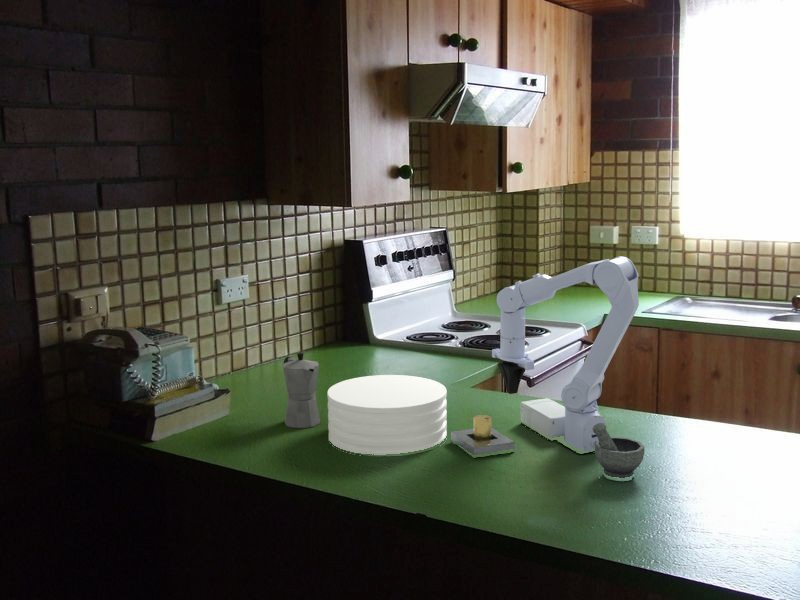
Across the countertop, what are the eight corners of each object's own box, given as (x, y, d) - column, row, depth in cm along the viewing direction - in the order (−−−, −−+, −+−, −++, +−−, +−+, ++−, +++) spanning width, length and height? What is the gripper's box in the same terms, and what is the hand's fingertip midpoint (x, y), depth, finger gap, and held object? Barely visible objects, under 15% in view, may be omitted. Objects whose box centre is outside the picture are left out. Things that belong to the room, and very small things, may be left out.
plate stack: (457, 423, 215) (457, 378, 213) (431, 462, 189) (431, 412, 187) (350, 415, 223) (349, 372, 221) (311, 452, 196) (309, 403, 194)
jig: (514, 452, 194) (514, 441, 193) (474, 458, 190) (474, 448, 189) (489, 436, 205) (489, 426, 204) (450, 442, 201) (450, 431, 200)
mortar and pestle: (625, 465, 185) (627, 411, 183) (652, 481, 176) (654, 424, 174) (579, 472, 181) (581, 417, 179) (605, 489, 172) (606, 431, 170)
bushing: (494, 447, 197) (494, 418, 196) (481, 451, 195) (481, 421, 193) (483, 442, 200) (483, 413, 199) (469, 446, 198) (469, 417, 197)
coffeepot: (332, 426, 213) (330, 355, 210) (297, 433, 208) (295, 360, 205) (303, 410, 226) (301, 343, 223) (270, 417, 221) (267, 348, 218)
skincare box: (519, 423, 214) (548, 443, 200) (519, 399, 213) (548, 418, 199) (549, 419, 216) (580, 439, 203) (550, 396, 215) (581, 414, 201)
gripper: (545, 340, 198) (544, 398, 200) (509, 329, 211) (508, 383, 213) (519, 344, 195) (519, 402, 197) (484, 332, 208) (484, 387, 210)
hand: (512, 392), depth 205 cm, fingers closed
